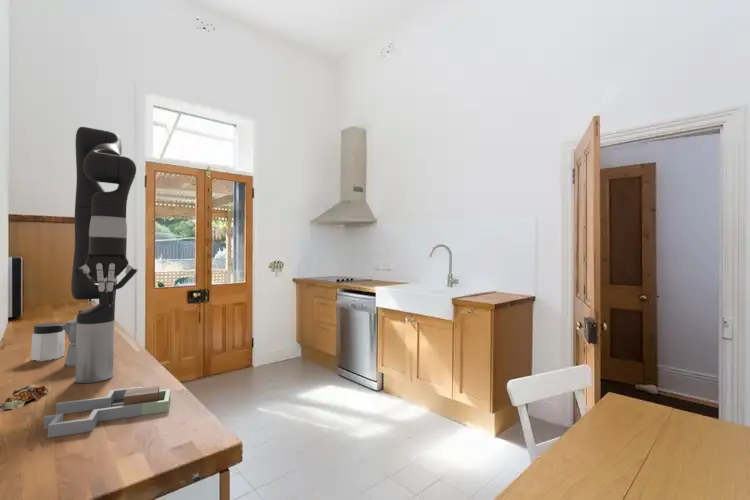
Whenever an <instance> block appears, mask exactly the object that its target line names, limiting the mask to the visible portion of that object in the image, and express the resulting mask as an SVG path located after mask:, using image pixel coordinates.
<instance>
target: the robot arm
mask: <svg viewBox="0 0 750 500" xmlns="http://www.w3.org/2000/svg"><path fill="white" fill-rule="evenodd" d="M122 150H123V149H122V141H121V137H120V135H118V134H117V133H116V132H112V131H109V130H103V129H98V128H93V127H88V126H79V127H78V128H77V131H76V133H75V162H76V163H75V165H76V169H75V170H76V187H75V202H74V253H73V261H72V273H71V284H70V285H71V287H70V288H71V289H70V290H71V295H72V298H73V299H75V300H78V301H79V300H80V301H81V300H83V301H84V300H98V304H96V305H95V306H93V307H91V308H88V309H85V310H81V311H82V312H80V313H79V312H78V314H77V316H76V319H77V329H76V366H74V367H75V372H74V374H75V376H74V382H75V383H78V384H91V383H97V382H102V381H106V380H109V379H111V378H112V377H114V354H115V353H114V352H115V316H116V315H115V312H116V311H115V310H116V294H117V290H119V289H120V290H121V288H124V286H125V285H127V283H128V282H129V281H130V280H131V279H132V278H133V277H134V276H135V275H136V274H137V273H138V272H139V271H138V269H137V267H133V266H132V265H131V264H129V260H128V257H127V244H128V243H127V240H128V239H127V237H128V236H127V235H128V224H127V206H128V205H127V203H128V197H129V193H130V190H131V188H132V185H133V182H134V180H135V177H136V174H137V165H136V164H135V162H134V160H133V159H132V158H131V157H130V156H129V157H128V156H123V155H122V153H123V151H122ZM100 183H104V184H105V183H106V184H115V185H118V186H117V188H116V189H114V190H111V191H106V190H105V189H104V188H103V186H102V185H101V184H100ZM124 270H125V271H124ZM122 272H124V273H125V275H124V276H123V277H122V279H120V281H118V276H120V275H121V274H122Z"/></svg>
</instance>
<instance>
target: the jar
mask: <svg viewBox="0 0 750 500" xmlns="http://www.w3.org/2000/svg"><path fill="white" fill-rule="evenodd" d="M62 324H64V323H63V322H47V323H39V324H35V325H33V332H32V333H31V355H30V356H31V358H30V359H31V361H34V360H36V361H37V362H46V360H47V361H52V359H54V360H59V359H60V358H63V357H65V348H66V347H65V345H66V344H65V343H66V340H65V339H66V332H65V330H64V329H63V328H62V326H59V325H62ZM62 356H63V357H62ZM36 361H35V362H36Z"/></svg>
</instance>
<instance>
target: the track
mask: <svg viewBox="0 0 750 500" xmlns="http://www.w3.org/2000/svg"><path fill="white" fill-rule="evenodd" d="M137 388H145V386H143V385H142V386H136V387H135V386H134V387H126V388H119V389H118V388H117V389H110V390H109V392H108V393H107V395H106V396H103V397H94V398H87V399H79V400H70V401H63V402H57V403H56V405H55V406H56V407H55V414H50V415H45V416H44V417H43V430H47V439H50V438H56V437H62V436H70V435H75V434H83V433H88V432H93V431H94V429H95V427H96V426H97V424H98V422H104V421H113V420H118V419H119V420H120V419H125V418H132V417H139V416H146V415H153V414H154V415H155V414H161V413H166V412H169V408H170V402H171V392H172V391H171V388H169V389H168V388H166V389H159V401H155V402H147V403H140V404H132V405H124V406H123V402H124V395H125V393H126V391H127V390H129V389H137ZM88 411H89V412H90V411H91V413H90V414H89V416H88V418H80V419H74V420H65V421H64V415H66V414H75V413H82V412H88Z"/></svg>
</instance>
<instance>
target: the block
mask: <svg viewBox="0 0 750 500" xmlns="http://www.w3.org/2000/svg"><path fill="white" fill-rule="evenodd" d="M159 390H160V385H155V386H147V387H144V388H137V389H129V390H127V391H126V393H125V395H124V402H123V405H122V406H124V405H132V404H140V403H147V402H155V401H159Z"/></svg>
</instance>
